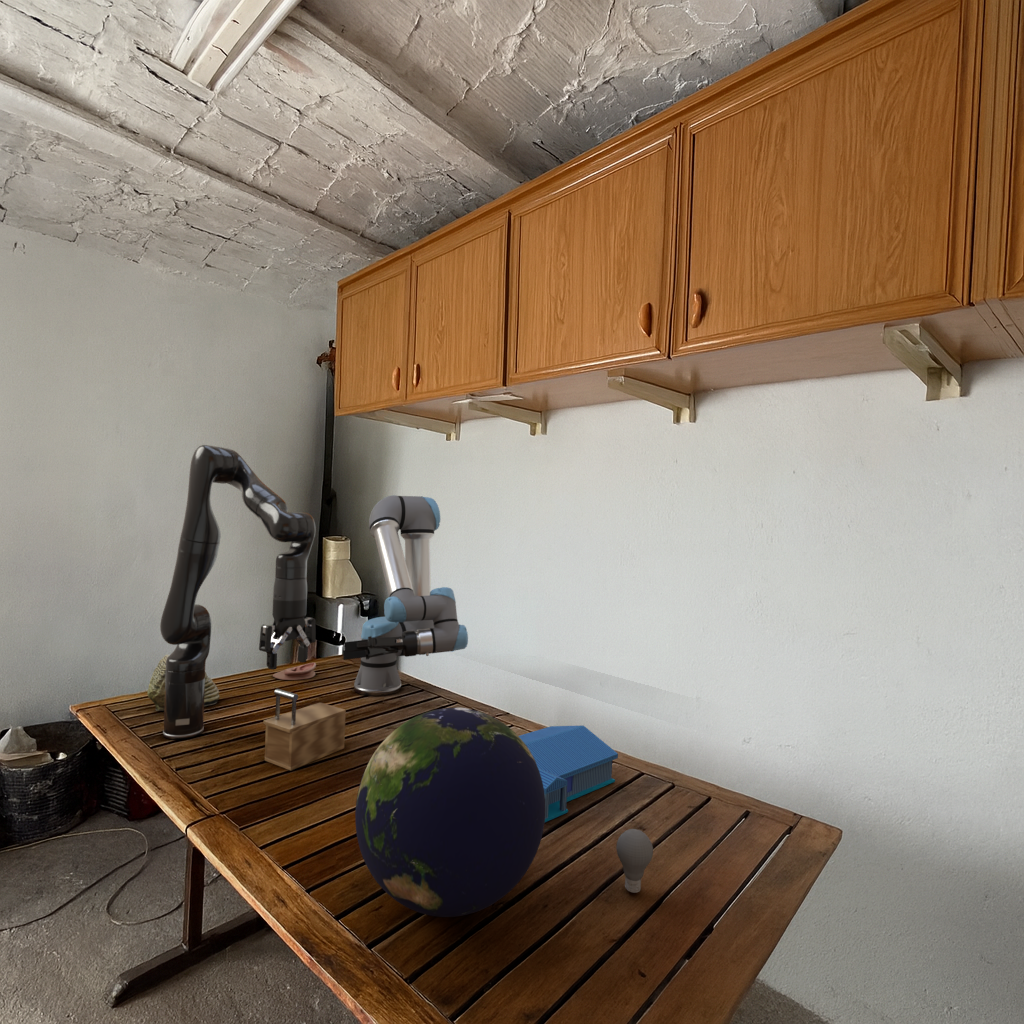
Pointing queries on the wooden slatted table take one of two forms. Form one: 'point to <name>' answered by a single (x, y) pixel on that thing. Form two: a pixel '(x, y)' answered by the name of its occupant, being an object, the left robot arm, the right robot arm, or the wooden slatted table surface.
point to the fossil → (158, 687)
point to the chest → (304, 743)
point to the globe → (450, 812)
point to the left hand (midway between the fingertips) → (287, 665)
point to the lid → (300, 714)
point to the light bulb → (634, 857)
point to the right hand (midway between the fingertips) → (343, 651)
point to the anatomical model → (297, 672)
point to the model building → (569, 764)
